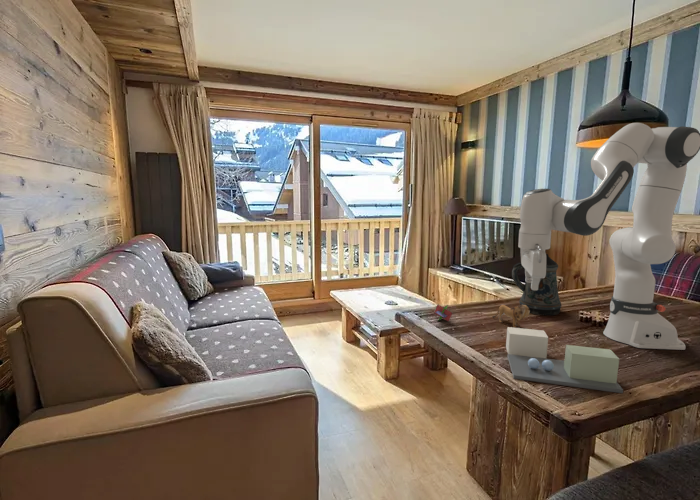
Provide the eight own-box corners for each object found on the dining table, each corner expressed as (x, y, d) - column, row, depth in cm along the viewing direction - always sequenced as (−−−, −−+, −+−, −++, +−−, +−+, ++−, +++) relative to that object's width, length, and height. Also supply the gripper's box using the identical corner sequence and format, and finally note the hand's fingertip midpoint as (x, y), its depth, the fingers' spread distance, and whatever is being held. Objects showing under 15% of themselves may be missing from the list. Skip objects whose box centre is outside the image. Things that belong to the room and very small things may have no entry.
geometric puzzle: (458, 315, 146) (447, 298, 148) (452, 320, 141) (441, 302, 143) (444, 323, 150) (434, 306, 152) (438, 327, 145) (427, 310, 147)
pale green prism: (607, 373, 102) (610, 349, 101) (616, 383, 97) (619, 358, 96) (563, 367, 105) (566, 344, 104) (569, 377, 100) (572, 353, 99)
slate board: (602, 368, 107) (603, 365, 107) (622, 393, 94) (623, 389, 94) (507, 356, 114) (507, 353, 114) (513, 378, 101) (513, 375, 101)
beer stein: (569, 314, 154) (575, 256, 151) (529, 317, 150) (534, 258, 147) (541, 303, 170) (546, 250, 166) (505, 305, 166) (509, 251, 162)
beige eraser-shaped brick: (542, 350, 119) (544, 330, 118) (546, 358, 113) (548, 337, 112) (505, 346, 122) (507, 326, 121) (508, 354, 116) (509, 333, 115)
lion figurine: (530, 327, 139) (532, 305, 138) (523, 330, 136) (525, 307, 135) (495, 317, 151) (497, 296, 150) (488, 319, 148) (489, 298, 146)
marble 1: (538, 365, 106) (538, 356, 105) (540, 371, 103) (540, 361, 103) (526, 365, 107) (527, 355, 106) (528, 370, 104) (528, 361, 103)
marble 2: (550, 368, 105) (554, 360, 104) (552, 374, 102) (556, 365, 101) (539, 365, 106) (543, 356, 105) (541, 370, 103) (545, 361, 102)
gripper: (553, 247, 101) (550, 295, 103) (538, 238, 120) (536, 279, 123) (529, 246, 103) (526, 294, 105) (518, 238, 122) (515, 278, 124)
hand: (531, 285), depth 114 cm, fingers open, 8 cm apart
